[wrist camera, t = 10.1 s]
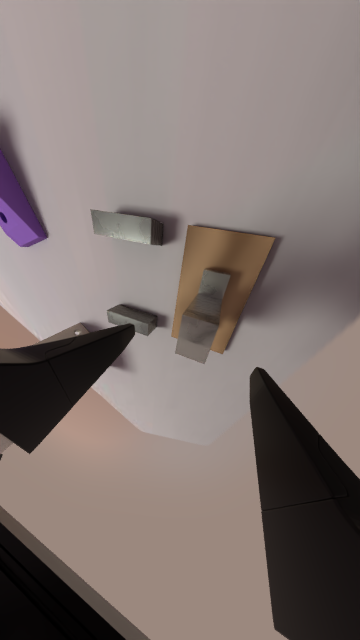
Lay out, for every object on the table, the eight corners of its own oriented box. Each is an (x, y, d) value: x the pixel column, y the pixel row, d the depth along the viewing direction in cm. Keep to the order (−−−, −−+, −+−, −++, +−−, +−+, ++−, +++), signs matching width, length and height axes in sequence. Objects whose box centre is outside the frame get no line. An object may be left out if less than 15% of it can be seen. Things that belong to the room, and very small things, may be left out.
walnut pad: (272, 238, 13) (275, 237, 12) (222, 350, 21) (222, 354, 21) (190, 226, 15) (188, 224, 14) (173, 333, 23) (171, 336, 22)
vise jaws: (163, 223, 16) (151, 218, 13) (156, 327, 24) (147, 336, 21) (110, 215, 17) (90, 209, 15) (120, 315, 25) (108, 322, 23)
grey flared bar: (230, 273, 15) (232, 290, 8) (211, 328, 19) (202, 369, 12) (205, 268, 16) (188, 280, 9) (192, 322, 20) (174, 358, 13)
